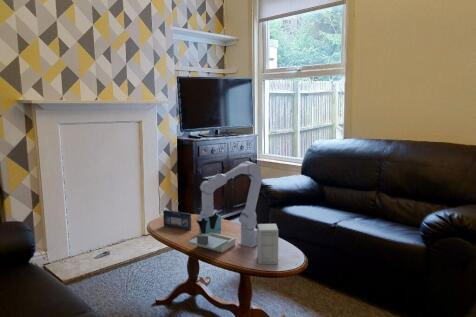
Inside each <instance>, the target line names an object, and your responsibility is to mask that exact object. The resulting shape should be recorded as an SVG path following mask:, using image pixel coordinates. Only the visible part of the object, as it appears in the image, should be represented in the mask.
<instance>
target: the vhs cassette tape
mask: <svg viewBox="0 0 476 317" xmlns="http://www.w3.org/2000/svg"><path fill="white" fill-rule="evenodd" d="M162 212H163V213H162V216H163V218H162V219H163V227H165V228H170V229H171V228H172V229H176V230H182V231H188V232H189V231H191V230H192V213H190V212H189V213H188V212H184V211H183V212H182V211H175V210H169V209H168V210H167V209H165V210H163V211H162Z"/></svg>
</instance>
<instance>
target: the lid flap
mask: <svg viewBox="0 0 476 317" xmlns="http://www.w3.org/2000/svg"><path fill="white" fill-rule="evenodd" d="M227 242H228V240H224V239H220V238H216V237H212V236H208V235H204V234H200V233H199V234H198V235H196V237H193V238H191V239H190V240H188V241H187V243H188V244H192V245H195V246H197V245H198V246H202V247H205V248H209V249H213V250H214V249H216V248H218V247H220V246H222V245H224V244H225V243H227ZM198 246H197V247H198ZM202 247H201V248H202ZM205 248H204V249H205ZM209 249H208V250H209ZM213 250H212V251H213Z"/></svg>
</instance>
